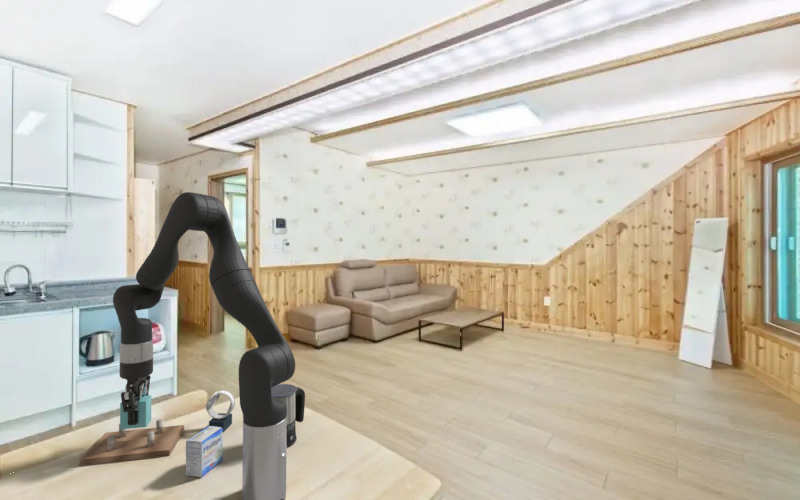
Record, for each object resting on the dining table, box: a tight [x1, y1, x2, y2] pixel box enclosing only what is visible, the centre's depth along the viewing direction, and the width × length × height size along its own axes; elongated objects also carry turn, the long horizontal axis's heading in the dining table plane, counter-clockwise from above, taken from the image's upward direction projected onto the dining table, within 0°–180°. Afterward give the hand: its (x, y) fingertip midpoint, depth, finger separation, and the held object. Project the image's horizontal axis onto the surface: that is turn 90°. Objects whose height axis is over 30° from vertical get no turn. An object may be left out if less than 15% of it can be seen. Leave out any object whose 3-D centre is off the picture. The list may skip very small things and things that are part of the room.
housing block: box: [119, 395, 152, 430], centre depth 104 cm, size 6×4×7 cm, turn 105°
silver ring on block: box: [205, 389, 236, 433], centre depth 116 cm, size 6×8×11 cm
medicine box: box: [185, 425, 224, 478], centre depth 95 cm, size 8×4×9 cm, turn 168°
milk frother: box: [271, 383, 306, 448], centre depth 111 cm, size 14×16×15 cm
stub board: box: [78, 418, 185, 467], centre depth 105 cm, size 20×14×5 cm
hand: (136, 420), depth 105 cm, fingers closed on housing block, 4 cm apart
